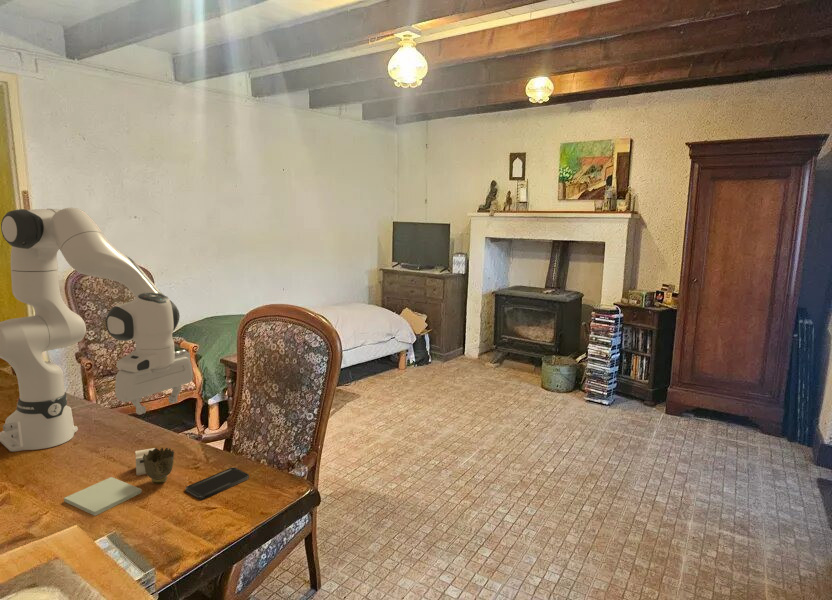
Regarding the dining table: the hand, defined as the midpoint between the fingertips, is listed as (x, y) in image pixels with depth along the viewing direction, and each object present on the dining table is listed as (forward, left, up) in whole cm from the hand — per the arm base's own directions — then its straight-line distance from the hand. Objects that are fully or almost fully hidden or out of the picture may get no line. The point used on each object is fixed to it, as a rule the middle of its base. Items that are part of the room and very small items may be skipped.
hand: (157, 407), depth 134 cm
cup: (0, 0, -21) cm, 21 cm away
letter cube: (-9, +2, -21) cm, 23 cm away
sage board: (-5, -12, -21) cm, 25 cm away
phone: (+14, +7, -21) cm, 26 cm away
